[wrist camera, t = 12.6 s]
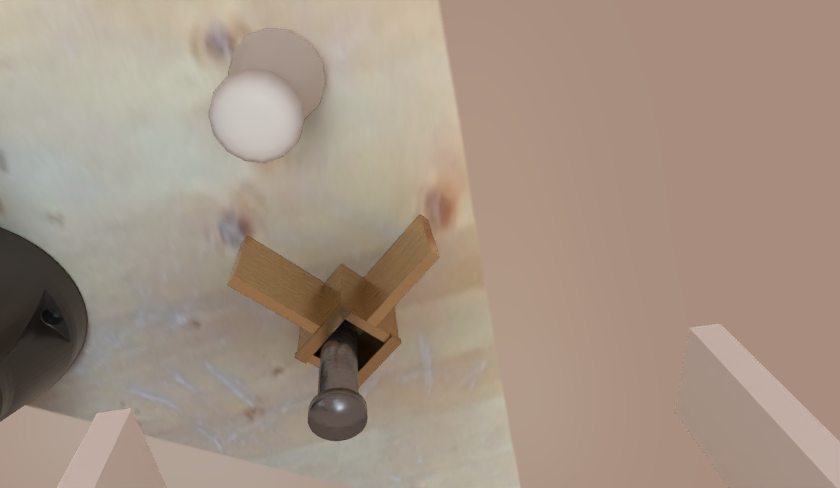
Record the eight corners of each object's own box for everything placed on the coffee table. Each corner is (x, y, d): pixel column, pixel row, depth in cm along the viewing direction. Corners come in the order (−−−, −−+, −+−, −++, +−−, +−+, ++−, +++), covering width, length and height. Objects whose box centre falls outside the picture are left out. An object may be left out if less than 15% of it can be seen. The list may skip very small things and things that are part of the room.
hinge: (225, 264, 43) (207, 310, 37) (320, 141, 39) (316, 171, 34) (354, 340, 47) (355, 390, 42) (449, 236, 44) (464, 276, 38)
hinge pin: (321, 325, 46) (313, 444, 35) (313, 288, 45) (303, 401, 33) (364, 319, 47) (370, 436, 35) (359, 282, 45) (363, 392, 34)
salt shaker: (220, 84, 37) (163, 142, 25) (260, 4, 35) (219, 29, 23) (301, 130, 39) (281, 203, 27) (342, 57, 37) (341, 103, 25)
